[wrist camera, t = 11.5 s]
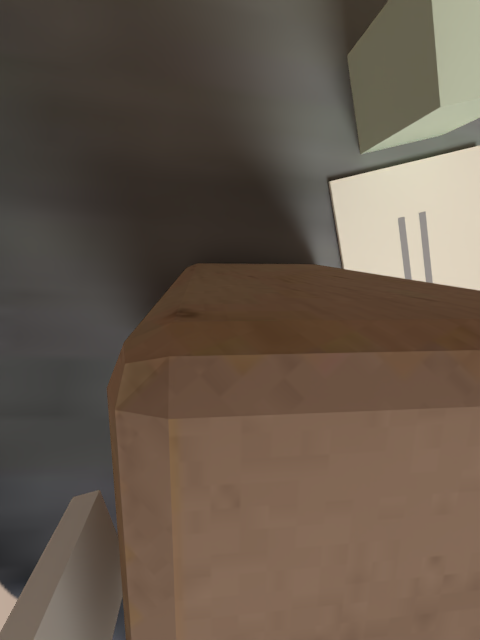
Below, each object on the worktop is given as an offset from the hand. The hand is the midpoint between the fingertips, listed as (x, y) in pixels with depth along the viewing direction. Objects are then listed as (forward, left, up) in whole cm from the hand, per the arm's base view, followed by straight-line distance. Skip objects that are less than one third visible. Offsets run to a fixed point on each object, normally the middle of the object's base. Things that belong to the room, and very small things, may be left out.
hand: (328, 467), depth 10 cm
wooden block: (0, 0, -16) cm, 16 cm away
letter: (-1, +13, -15) cm, 20 cm away
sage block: (-14, +13, -15) cm, 24 cm away
